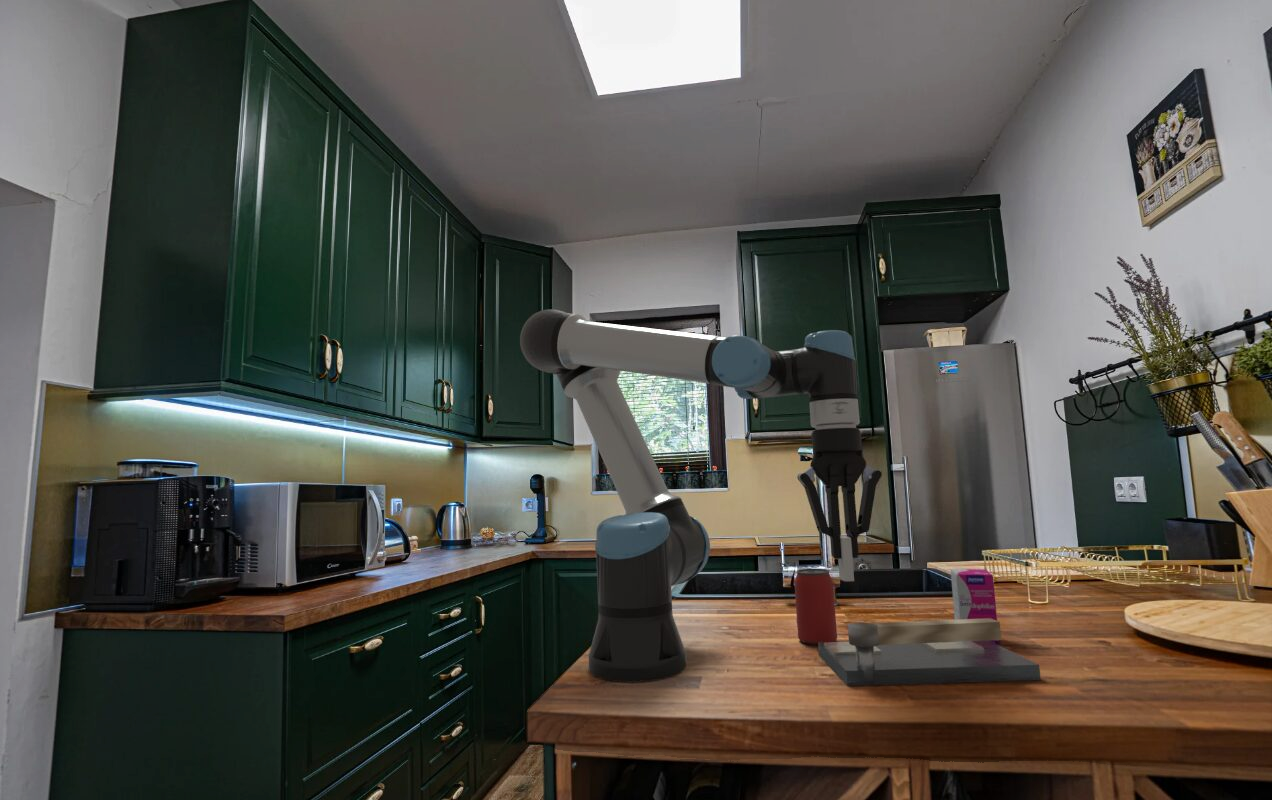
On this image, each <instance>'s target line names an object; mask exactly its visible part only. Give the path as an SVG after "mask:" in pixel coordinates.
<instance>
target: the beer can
mask: <svg viewBox="0 0 1272 800" xmlns="http://www.w3.org/2000/svg"><path fill="white" fill-rule="evenodd" d="M794 595H795V596H794V597H795V609H796V610H795V611H796V625H797V637H798V639H799V641H800V642H802V643H804V644H806V645H812V646H818V642H837V639H838V632H837V631H838V630H837V617H836V606H835V605H836V603H835V591H834V582H833V578H832V577H831V574H830V570H829V569H824V568H801V569H798V570H796V576H795V580H794Z"/></svg>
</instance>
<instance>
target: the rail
mask: <svg viewBox="0 0 1272 800" xmlns="http://www.w3.org/2000/svg"><path fill="white" fill-rule="evenodd" d="M847 632H848V633H847V634H848V635H847V636H848V641H849V644H851V645H853V646H859V647H874V646H878V645H891V644H916V643H940V642H964V641H988V640H999V641H1002V631H1001V622H1000V621H998V620H997V621H996V620H994V619H991V618H985V619H960V620H955V619H942V620H939V619H937V620H920V621H919V620H917V621H916V620H915V621H894V622H892V621H891V622H860V621H859V622H851V623H848V624H847Z"/></svg>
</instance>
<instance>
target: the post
mask: <svg viewBox="0 0 1272 800" xmlns="http://www.w3.org/2000/svg"><path fill="white" fill-rule="evenodd" d="M855 649H856V662H857V669H860V670H864V683H865V687H871V686H872V687H873V686H875V685H874V674H873V670H875V659H874V647H859V646H855Z"/></svg>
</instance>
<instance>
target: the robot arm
mask: <svg viewBox="0 0 1272 800" xmlns="http://www.w3.org/2000/svg"><path fill="white" fill-rule="evenodd" d="M519 335H520V336H519V337H520V338H519V346H520V349H521V353H522V354H523V356H524V358H525V359H526V361H527V362H528V363H529V364H530V365H531V366H532V367H534V368H535V369H537V370H539V371H542V372H545V373H549V374H552V375H556V377H557V379H558V381H559V384H560V385H561V388H562V389H563V392H564V394H565V396H566V397H569V398H571V399H573V400H576V402H577V405H578V407H579V409H580V412H581V413H582V416H583V419H584V421H585V423H586V425H587V427H588V429H589V432H590V434H591V435H592V438H593V440H594V442H595V445H596V447H597V450H598V452H599V454H600V456H601V458H602V460H603V464H604V466H605V468H606V470H607V472H608V475H609V477H610V479H611V481H612V483H613V486H614V488H615V490H616V492H617V494H618V497H619V500H620V501H621V503H622V506H623V508H624V510H625V514H624V515H623V514H621V515H614V516H611V517H607V518H606V519H604V520H602V521H601V522H600V523H599V524H598V526H597V528H596V534H595V535H596V541H595V544H594V546H595V547H594V548H595V552H596V553H595V555H596V576H597V577H596V579H597V582H596V583H597V602H598V603H597V604H598V618H597V619H598V620H597V623H596V627H595V632H594V634H593V637H592V640H591V641H592V643H591V645H590V649H589V653H588V672H589V673H590V675H592V676H594V677H596V678H599V679H603V680H607V681H614V682H615V681H616V682H648V681H655V680H661V679H665V678H669V677H670V678H671V677H673V676H676V675H678V674H680V673H682V672H683V671H685V669H686V668H687V657H686V656H687V655H686V649H685V647H684V643H683V642H682V638H681V635H680V632H679V630H678V627H677V624H676V621H675V618H674V614H673V594H672V587H673V586H676V585H683V584H684V583H686V582H688V581H690V580H692V579H693V578H694V577H696V576H697V575H698V574H699V573H701V571H703V569H704V567H706V564H707V562H708V560H709V557H710V552H711V544H710V543H711V542H710V538H709V534H708V531H707V530H706V528H705V526H704V524H702V523H701V522H700V521H699V520H698V519H696V518H695V517H693V516H691V515H690V514H689V512H688V510H687V508H686V506H685V504H684V502H683V499H682V498H681V496H679V495H676V494H673V493H672V492H670V491H669V490H668V487H667V485H666V483H665V481H664V478H663V477H662V474H661V472H660V470H659V468H658V466H657V463H656V462H655V459H654V457H653V455H652V453H651V451H650V449H649V447H648V445H647V444H648V443H646V440H645V438H644V436H643V433H642V432H641V430H640V428H639V427H640V426H639V425H638V423H637V421H636V419H635V417H634V415H633V413H632V410H631V408H630V406H629V404H628V402H627V400H626V398H625V396H624V393H623V392H622V389H621V387H620V385H619V383H618V379H619V377H620V375H621V372H626V373H627V372H628V373H633V374H640V375H647V376H653V377H654V376H655V377H659V378H669V379H674V380H682V381H690V382H695V383H703V384H708V385H709V384H710V385H714V386H718V387H719V386H720V387H725V388H733V389H734V391H735V392H736V394H737V396H738V397H740V398H741V399H743V400H744V399H745V400H750V399H754V400H755V399H757V400H762V399H765V398H766V399H767V398H775V397H784V396H792V395H793V396H794V395H805V394H808V401H809V402H808V403H809V416H810V417H809V418H810V427H812V428H813V429H814V430H813V431H812V432H811V446H812V460H811V462H810V467H809V468H807V469H806V470H805V471H803V472H802V473H798V474H797V480H798V481H799V482H800V484H801V486H802V487H803V488H804V490H805V494H806V497H807V500H808V503H809V506H810V509H811V512H812V513H811V514H812V517H813V519H814V523H815V526H816V529H817V531H818V532H819V533H821V534H824V535H826V536H828V537H829V539H830V550H831V552H830V553H831V556H832V558H833V559H835V560H837V561H838V562H837V563H838V573H839V575H838V577H839V580H840V581H843V582H855V575H854V561H853V559H857V558H858V557H859V554H860V553H859V543H858V537H859V536H860V535H861V534H864V533H867V532H869V531H870V528H871V527H870V526H871V519H872V513H873V507H874V501H875V495H876V489H877V485H878V483H879V481H880V480H881V478H882V474H883V473H882V471H880V470H879V469H878V470H876V469H874V468H873V467H870V466H869V465H867V461H866V459H865V458H864V455H863V445H862V432H861V431H862V430H860V428H858V427H857V426H858V425H859V424H861V421H860V412H859V411H860V409H859V398H858V381H857V367H856V365H857V364H856V362H857V360H856V358H855V349H854V344H853V337H852V335H851V334H849V332H847V331H844V330H838V329H831V330H830V329H829V330H821V331H817V332H812V333H809V334H807V336H805V338H804V344H803V347H800V348H795V349H788V350H786V349H785V350H778V351H775V350H773V349H771V348H769V347H768V346H766V345H764V344H762V343H761V342H760V341H759V340H757V339H755V338H754V337H751V336H745V335H742V334H741V335H740V334H737V335H736V334H735V335H730V336H718V335H712V334H701V333H694V332H686V331H676V330H668V329H667V330H666V329H659V328H658V329H657V328H649V327H642V326H641V327H640V326H633V325H632V326H631V325H624V324H623V325H622V324H614V323H605V322H604V323H603V322H595V321H592V320H586V318H585V317H584V316H583V315H581V314H577V313H569V312H565V311H562V310H558V309H555V308H553V309H552V308H551V309H550V308H549V309H543V310H540V311H538V312H535V313H533V314H532V315H531V316H529V318H528V319H527V320H526V321H525V323H524V324H523V326H522V329H521V331H520V334H519ZM862 474H863V475H862ZM815 475H816V477H817V478H818V479H819V480H820V481H821V483H822V484H823V485H824V488H825V493H826V507H827V518H826V516H825V512H824V510H823V506H822V503H821V500H820V496H819V494H818V490H817V487H816V485H815V482H816V477H815ZM861 475H862V478H863V480H864V482H863V486H862V492H861V497H860V498H861V499H860V504H859V510H858V517H857V504H856V494H855V493H856V484H857V482H858V480H859V478H860V477H861ZM839 487H841V488H839ZM840 489H841V494H842V502H843V503H842V504H843V517H844V527H845V534H846V535H845V536H844V535H843V536H841V535H842V530H841V517H840V513H841V512H840V502H839V492H840V491H839V490H840ZM827 521H828V522H827Z"/></svg>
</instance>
